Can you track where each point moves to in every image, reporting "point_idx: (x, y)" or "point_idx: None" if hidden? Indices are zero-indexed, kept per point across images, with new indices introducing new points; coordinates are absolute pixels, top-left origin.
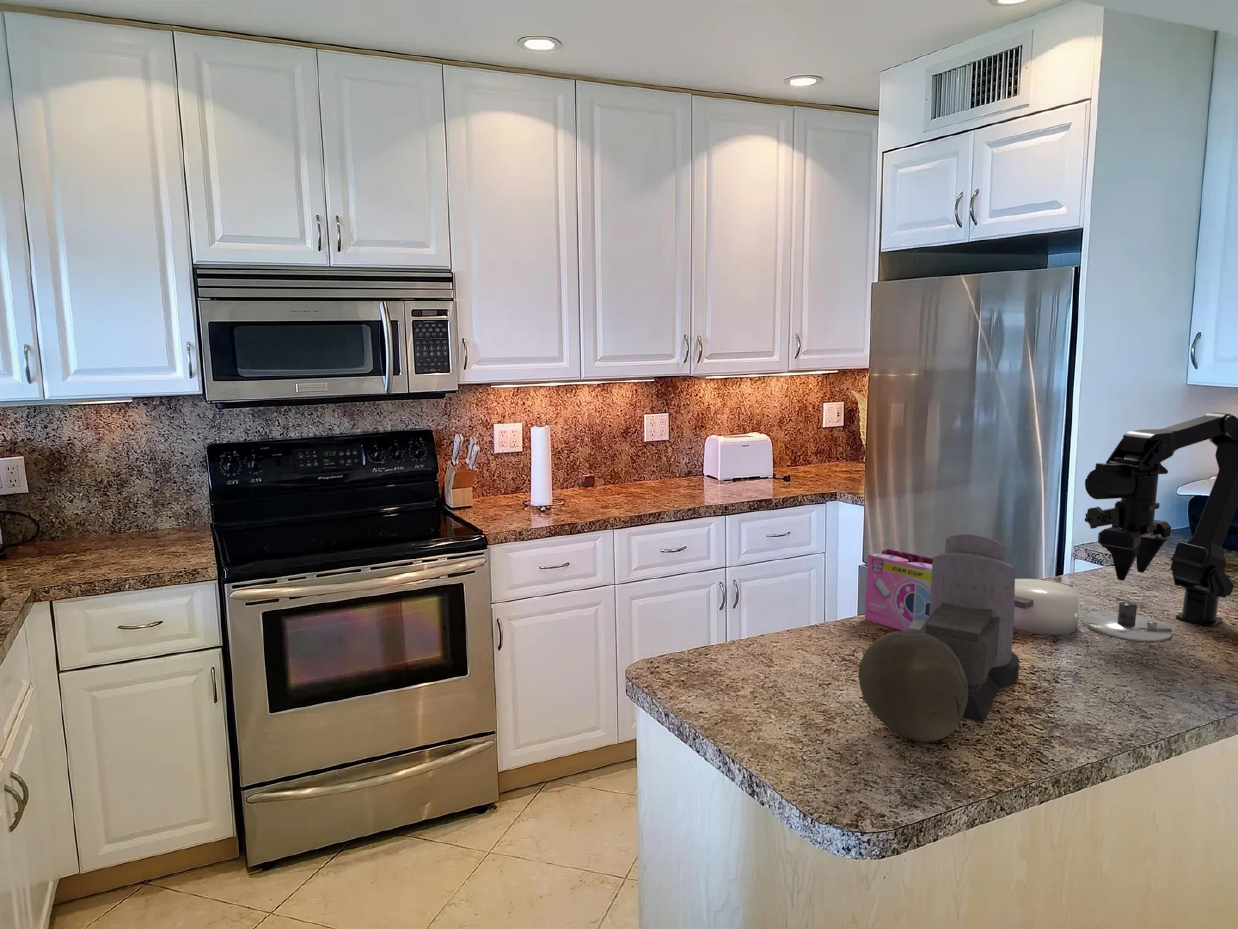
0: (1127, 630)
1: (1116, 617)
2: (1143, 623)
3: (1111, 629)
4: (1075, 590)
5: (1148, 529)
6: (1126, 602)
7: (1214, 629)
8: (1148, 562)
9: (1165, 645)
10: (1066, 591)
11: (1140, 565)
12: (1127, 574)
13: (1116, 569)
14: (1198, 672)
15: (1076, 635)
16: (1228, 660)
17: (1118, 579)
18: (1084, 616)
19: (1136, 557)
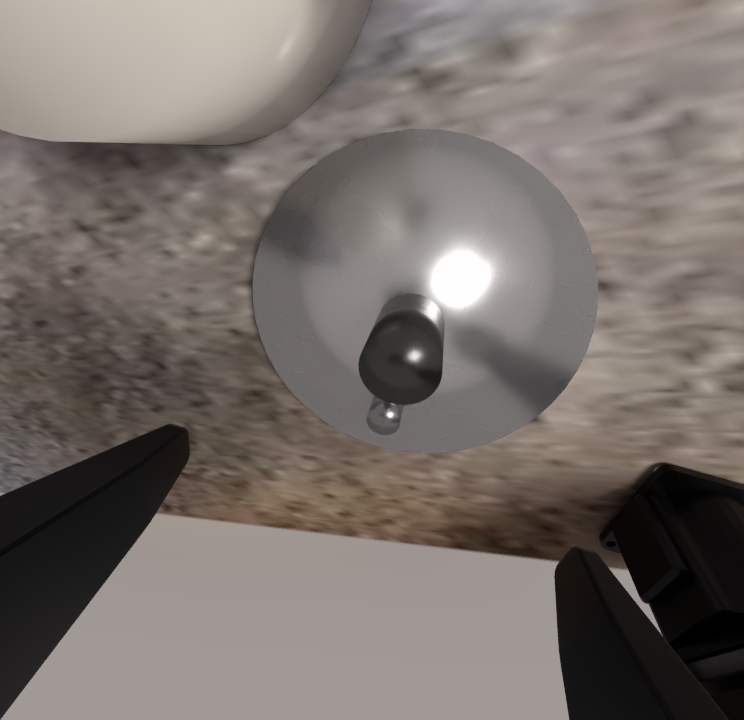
0: (318, 336)
1: (491, 281)
2: (461, 379)
3: (287, 284)
4: (171, 68)
5: None
6: (430, 362)
7: (578, 540)
8: (570, 707)
9: (299, 427)
10: (75, 1)
11: (586, 620)
12: (152, 514)
13: (65, 477)
14: None
15: (160, 162)
16: (293, 529)
17: (173, 427)
18: (410, 137)
19: (659, 700)
